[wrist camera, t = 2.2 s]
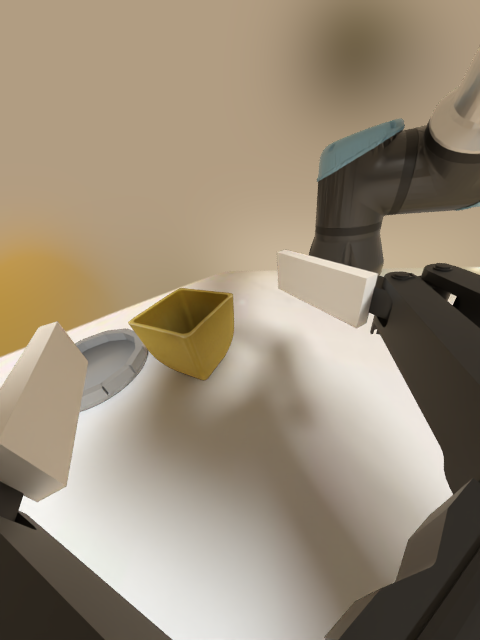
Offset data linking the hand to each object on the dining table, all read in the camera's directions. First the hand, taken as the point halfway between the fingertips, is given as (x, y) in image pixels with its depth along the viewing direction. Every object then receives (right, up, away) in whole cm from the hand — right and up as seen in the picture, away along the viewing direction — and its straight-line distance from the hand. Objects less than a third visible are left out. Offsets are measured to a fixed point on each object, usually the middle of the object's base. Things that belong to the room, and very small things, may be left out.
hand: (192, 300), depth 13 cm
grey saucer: (-18, -9, +18) cm, 26 cm away
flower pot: (-2, -7, +16) cm, 17 cm away
